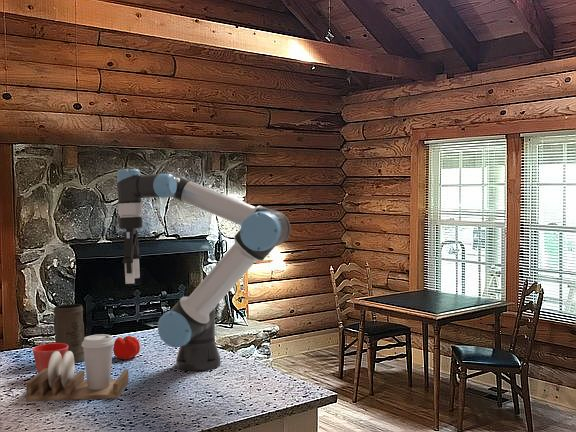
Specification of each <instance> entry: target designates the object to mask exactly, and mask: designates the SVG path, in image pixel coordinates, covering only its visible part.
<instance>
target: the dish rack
mask: <svg viewBox="0 0 576 432" xmlns="http://www.w3.org/2000/svg"><path fill="white" fill-rule="evenodd" d="M75 364H76V363H75V361H74V356H73V353H72V352H71V351H66V352H65V354H64V356H63V359H62V356H61V354H60V352H59V351H54V352H53V353H52V355H51V357H50V360H49V365H48V368H44V369H43V370H42V371H40V372H39V373H38V372H37V374H35V375H34V376H33V377H32V378H31V379H29V380H28V381H27V382H26V384H25V385H26V387H25V388H26V402H27V401H29V402H30V401H33V402H34V401H36V402H37V401H63V400H65V401H66V400H67V401H68V400H69V401H70V400H71V401H72V399H75V400H103V399H104V400H108V399H107V398H110V399H111V398H113V399H119V397H120V396H121V394H123V391H124V390H125V389H126V387H127V386H128V384H129V382H130V381H129V377H130V376H129V369H123V371H122V372H121V373H120V374H119V376H118V377H117V378H115V379H113V378H112V379H111V381H110V386H109V387H108V388H105V389H100V390H92V389H89V388H88V384H87V379H85V370H79V371H78V372H77V373H75V369H76V367H75Z"/></svg>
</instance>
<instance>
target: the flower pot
mask: <svg viewBox="0 0 576 432" xmlns="http://www.w3.org/2000/svg"><path fill="white" fill-rule="evenodd" d="M68 347H69V346H68V345H67V344H63V343H55V342H53V343H52V342H51V343H43V344H40V345H37V346H34V347H33V348H32V353H33V357H34V362H35V367H36V370H37V374H38V373H39V372H40V371H42V370H43V369H44V368H48V365H49V360H50V357H51V355H52V353H53V352H54V351H59V352H60V354H61V356H62V359H63V356H64V354H65V352H66V351H68Z"/></svg>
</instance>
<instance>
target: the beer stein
mask: <svg viewBox="0 0 576 432" xmlns="http://www.w3.org/2000/svg"><path fill="white" fill-rule="evenodd" d="M83 311H84V307H83V305H82V304H80V303H79V304H78V303H72V304H71V303H68V304H61V305H56V306H54V308H53V315H54V316H53V330H54V335H55V336H54V340H55V341H54V343H63V344H67V345H68V346H69V347H68V351H71V352H72V353H73V356H74V361H75V364H77V363H80V362H83V361H85V358H84V350H83V347H82V346H81V345H82V342H83V341H84V338H85V324H84V317H83V315H84V312H83Z"/></svg>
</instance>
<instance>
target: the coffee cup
mask: <svg viewBox="0 0 576 432" xmlns="http://www.w3.org/2000/svg"><path fill="white" fill-rule="evenodd" d="M114 342H115V340H114V339H113V337H112V335H111V334H104V333H103V334H102V333H101V334H100V333H99V334H92V335H87V336H84V341H83V342H82V345H81V346H82V347H83V350H84V358H85V359H84V366H85V373H86V380H87V384H88V388H89V389H92V390H100V389H105V388H108V387H109V386H110V381H111V378H112V362H113V347H114Z"/></svg>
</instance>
